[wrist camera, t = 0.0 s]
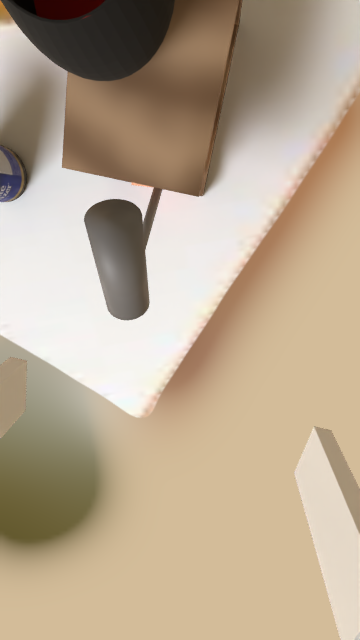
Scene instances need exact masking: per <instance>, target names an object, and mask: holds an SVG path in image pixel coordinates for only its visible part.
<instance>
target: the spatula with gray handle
mask: <svg viewBox="0 0 360 640" xmlns="http://www.w3.org/2000/svg"><path fill="white" fill-rule="evenodd" d="M132 185H138V186H146V185H142V184H137V183H132ZM147 187H151V186H147ZM161 192H162V189H160V188H156V187H154V189H153V192H152V196H151V199H150V202H149V205H148V209H147V212H146V215H145V218H144V222H142V213H141V211H140V209H139V208H138V207H137V206H136V205H135V204H133V203H131V202H129V201H126V200H121V199H110V200H105V201H101V202H99V203H97V204H95V205H93V206H92V207H91V208H90V209H89V210H88V211H87V212H86V214H85V218H84V222H85V226H86V229H87V233H88V237H89V241H90V244H91V248H92V252H93V255H94V259H95V263H96V267H97V270H98V274H99V278H100V282H101V285H102V289H103V293H104V297H105V300H106V304H107V308H108V311H109V312H110V313H111V315H113V316H114V317H116V318H118V319H121V320H133V319H136V318H138V317H140V316H142V315H143V314H144V313H145V312H146V311H147V309H148V307H149V291H148V280H147V268H146V257H145V249H146V245H147V242H148V238H149V235H150V231H151V228H152V224H153V221H154V217H155V213H156V210H157V206H158V203H159V199H160V196H161Z"/></svg>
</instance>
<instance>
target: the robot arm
mask: <svg viewBox="0 0 360 640" xmlns="http://www.w3.org/2000/svg"><path fill="white" fill-rule="evenodd" d="M26 375H27V361H26V360H22V359H17V358H13V357H10V358H9V359H7V360H6V361H5V362H4V363H3V364H1V365H0V438H1V437H2V436H3V435H4V434H5V433H6V432H7V431H8V429H9V428H10V427H11V426H12V425H13V424H14V422H16V420H17V419H18V418H19V417H20V416H21V415H22V413H24V411H25V408H26ZM294 474H295V478H296V481H297V485H298V488H299V492H300V496H301V499H302V502H303V507H304V510H305V513H306V517H307V521H308V524H309V528H310V531H311V535H312V539H313V542H314V546H315V550H316V553H317V557H318V560H319V564H320V567H321V571H322V574H323V578H324V582H325V585H326V589H327V593H328V596H329V600H330V603H331V607H332V610H333V614H334V617H335V621H336V625H337V628H338V632H339V635H340V639H341V640H360V489H359V486H358V484H357V482H356V480H355V478H354V476H353V474H352V472H351V470H350V468H349V466H348V464H347V462H346V460H345V458H344V456H343V454H342V452H341V450H340V447H339V445H338V443H337V441H336V439H335V437H334V435H333V433H332V431H331V430H328V429H323V428H319V427H314V428H313V430H312V432H311V435H310V437H309V439H308V442H307V444H306V446H305V449H304V451H303V453H302V456H301V458H300V461H299V463H298V465H297V467H296V470H295V472H294Z"/></svg>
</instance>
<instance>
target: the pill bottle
mask: <svg viewBox="0 0 360 640" xmlns="http://www.w3.org/2000/svg"><path fill="white" fill-rule="evenodd" d="M26 181H27V177H26V170H25V168H24V165H23V163H22V161H21V160H20V158H19V157H18V156H17V155H16V154H15V153H14V152H13V151H12V150H10V149H8V148H6V147H4V146H2V145H0V202H10V201H13V200H15V199H17V198H18V197H20V196H21V194H22V193H23V191H24V189H25V184H26Z"/></svg>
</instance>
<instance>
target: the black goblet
mask: <svg viewBox="0 0 360 640" xmlns="http://www.w3.org/2000/svg"><path fill="white" fill-rule="evenodd" d="M1 1H2V3H3V4H4V6H5V8H6V9H7V11H8V12H9V14H10V15H11V17H12V18H13V20H14V21H15V23H16V24H17V25H18V27H19V28H20V29H21V30H22V32H23V33H24V34H25V35H26V36H27V37H28V39H29V40H30V41H31V42H32V43H33V44H34V45H35V46H36V47H37V48H38V49H39V50H40V51H41V52H42V53H43V54H44V55H46V56H47V57H48V58H49V59H50V60H51V61H53V62H54V63H55V64H57V65H58V66H60V67H62V68H63V69H65V70H67V71H68V72H70V73H72V74H74V75H77V76H79V77H82V78H85V79H89V80H95V81H114V80H119V79H122V78H125V77H128V76H130V75H132V74H134V73H135V72H137V71H138V70H140V69H141V68H142V67H143V66H145V65H146V64H147V63H148V62H149V61H150V60H151V58H152V57H153V56H154V55H155V54H156V52H157V51H158V49H159V47H160V46H161V44H162V42H163V40H164V38H165V35H166V33H167V31H168V28H169V25H170V21H171V18H172V14H173V10H174V3H175V0H1Z"/></svg>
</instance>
